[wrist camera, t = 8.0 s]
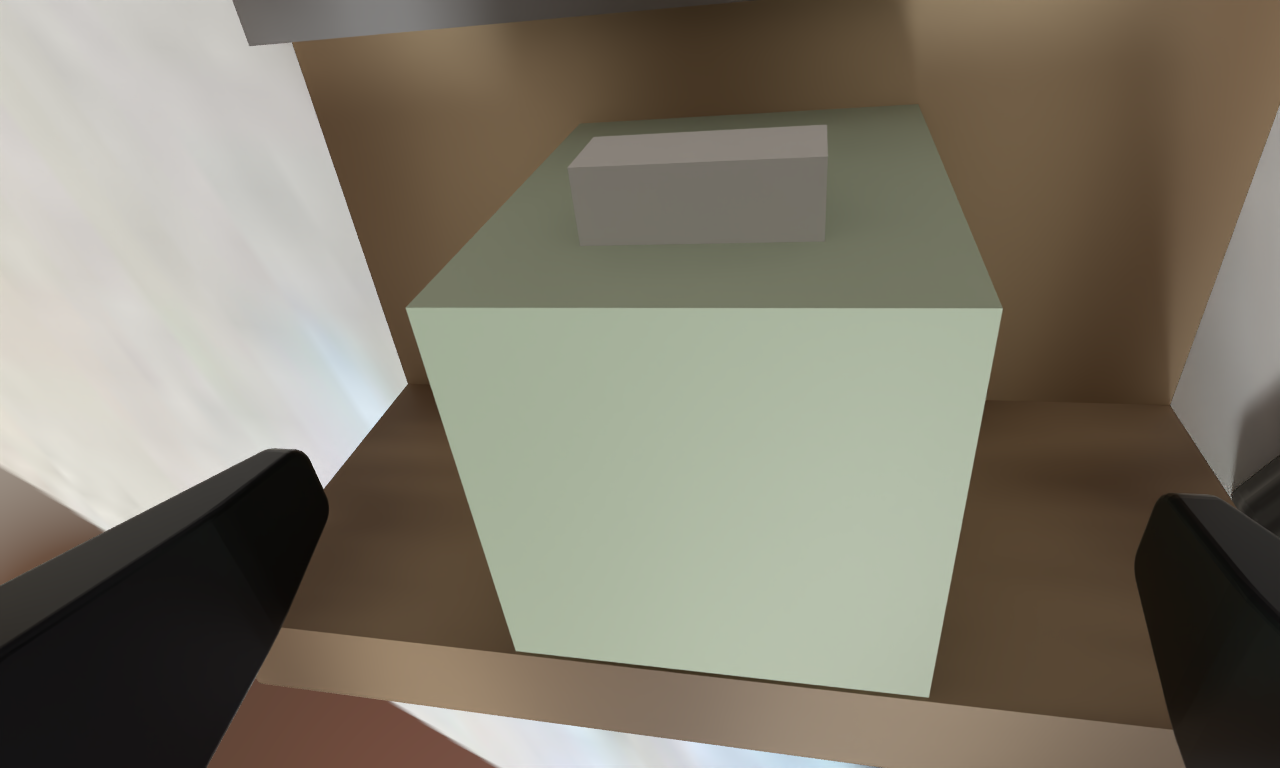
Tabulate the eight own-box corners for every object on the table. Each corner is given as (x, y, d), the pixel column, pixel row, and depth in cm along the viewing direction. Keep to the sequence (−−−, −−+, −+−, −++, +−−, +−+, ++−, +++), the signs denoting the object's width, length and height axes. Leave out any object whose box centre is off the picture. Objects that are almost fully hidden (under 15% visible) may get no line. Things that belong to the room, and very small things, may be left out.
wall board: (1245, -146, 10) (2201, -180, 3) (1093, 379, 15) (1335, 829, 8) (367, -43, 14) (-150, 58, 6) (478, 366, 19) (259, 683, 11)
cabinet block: (924, 43, 10) (1022, 206, 5) (889, 394, 13) (928, 698, 8) (571, 68, 11) (379, 224, 6) (618, 386, 14) (515, 650, 9)
